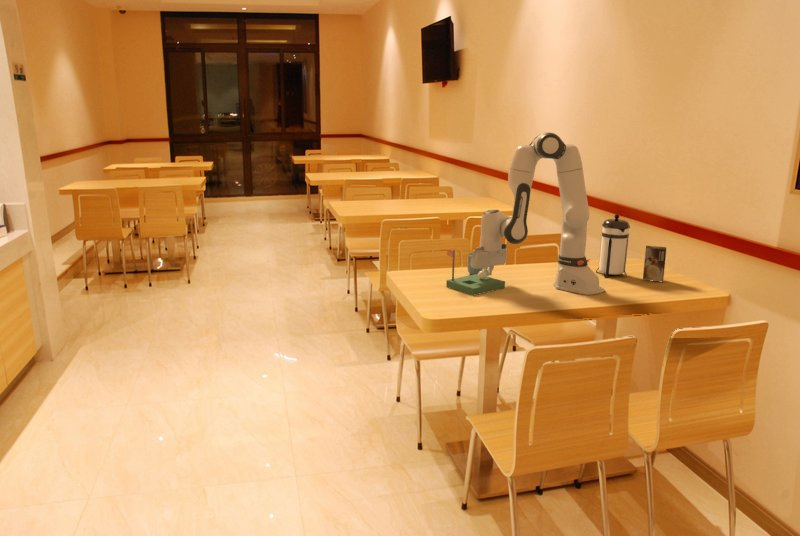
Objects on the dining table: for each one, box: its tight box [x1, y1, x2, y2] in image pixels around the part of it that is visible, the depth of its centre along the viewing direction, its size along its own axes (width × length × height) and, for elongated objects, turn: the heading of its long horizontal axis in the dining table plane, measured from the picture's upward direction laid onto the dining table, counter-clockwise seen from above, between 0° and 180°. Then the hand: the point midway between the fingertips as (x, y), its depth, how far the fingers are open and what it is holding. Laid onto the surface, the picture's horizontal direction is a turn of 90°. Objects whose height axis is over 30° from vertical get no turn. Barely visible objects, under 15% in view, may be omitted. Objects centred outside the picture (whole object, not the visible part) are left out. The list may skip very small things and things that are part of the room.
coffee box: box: [642, 245, 667, 282], centre depth 292 cm, size 9×6×16 cm
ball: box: [478, 270, 487, 280], centre depth 279 cm, size 4×4×4 cm
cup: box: [466, 252, 484, 275], centre depth 299 cm, size 8×8×10 cm
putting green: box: [445, 248, 506, 296], centre depth 277 cm, size 19×20×17 cm
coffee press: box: [595, 214, 631, 279], centre depth 301 cm, size 17×16×30 cm
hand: (487, 275), depth 282 cm, fingers closed
